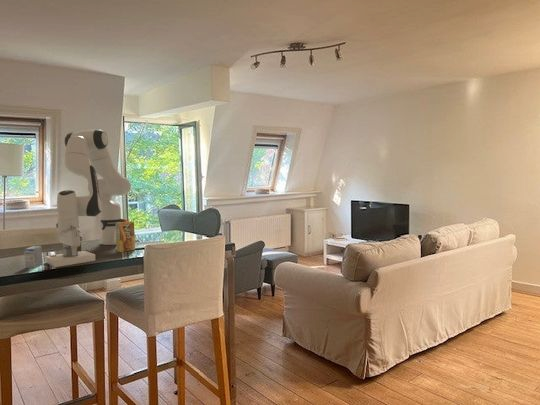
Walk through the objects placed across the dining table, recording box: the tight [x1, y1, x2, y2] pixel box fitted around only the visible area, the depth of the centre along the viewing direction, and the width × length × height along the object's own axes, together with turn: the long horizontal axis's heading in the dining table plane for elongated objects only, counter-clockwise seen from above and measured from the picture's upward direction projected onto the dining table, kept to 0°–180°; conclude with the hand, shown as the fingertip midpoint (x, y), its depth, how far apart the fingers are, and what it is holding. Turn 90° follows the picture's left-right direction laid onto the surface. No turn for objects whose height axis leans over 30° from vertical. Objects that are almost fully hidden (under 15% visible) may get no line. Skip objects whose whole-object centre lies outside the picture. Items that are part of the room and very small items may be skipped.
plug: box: [62, 247, 78, 257], centre depth 203 cm, size 5×5×6 cm
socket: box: [45, 250, 96, 268], centre depth 203 cm, size 18×14×3 cm
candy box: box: [115, 220, 136, 253], centre depth 227 cm, size 9×4×15 cm, turn 142°
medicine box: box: [23, 245, 44, 269], centre depth 195 cm, size 8×4×9 cm, turn 5°
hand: (70, 253), depth 203 cm, fingers open, 8 cm apart
